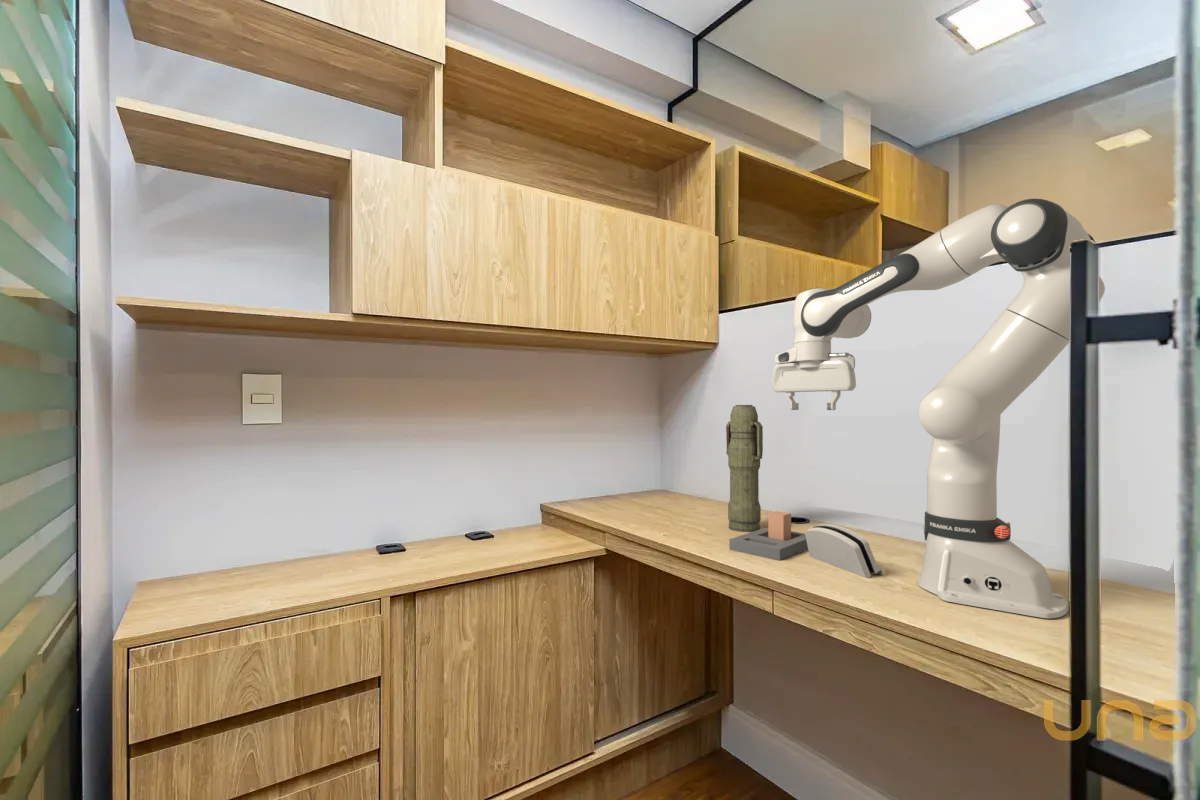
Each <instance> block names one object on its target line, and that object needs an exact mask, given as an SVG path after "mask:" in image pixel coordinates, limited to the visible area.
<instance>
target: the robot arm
mask: <svg viewBox="0 0 1200 800" xmlns="http://www.w3.org/2000/svg"><path fill="white" fill-rule="evenodd" d="M1080 239H1090V240H1093V241H1094V242H1095V243H1096V240H1095V239H1094V238H1093V237H1092V235H1091V234H1089V233H1088V231H1086V229H1085V228H1084V227H1083V224H1082V222H1081V221H1080V220H1078V219H1077V218H1076V217H1075V216H1074V215H1072V214H1070V213H1069V212H1067V211H1066V210H1065V209H1064V208H1063V207H1062V206H1061V205H1060V204H1058V203H1055V202H1054V201H1050V200H1048V199H1042V198H1027V199H1024V200H1020V201H1018V202H1015V203H1012V204H1011V205H1010V206H1007V205H1004V204H1000V203H995V204H990V205H986V206H984V207H982V208H980V209H977V210H975V211H973V212H971V213H969V214H966V215H965V216H963V217H960V218H959V219H957V220H956V221H953V222H952V223H950V224H948V225H946V226H945V227H943V228H941V229H939V230H938V231H936V232H935V233H933V234H932V235H929V236H928V237H927V238H926V239H924V240H922V241H921V242H919V243H917V244H915V245H914V246H912V247H911V248H909V249H906V250H904V251H903V252H901V253H899V254H897V255H896V256H893V257H892V258H890V259H887V260H885V261H884V262H883V261H882V263H880V264H878V265H876V266H874V267H872V268H870V269H869V270H866V271H865V272H863V273H861V274H860V275H857V276H855V277H854V278H852V279H851V280H848V281H847V282H845V283H843V284H841V285H839V286H837V287H835V288H833V289H829V290H828V289H826V288H824V287H814V288H809V289H805V290H803V291H801V292H799V294H798V295H797V296H796V297H795V301H794V303H793V310H792V311H793V312H792V327H793V330H794V339H793V342H792V343H793V344H792V346H793V347H792V348H790V349H787V350H785V351H783V352H780V353H778V354H776V355H775V356H774V363H776V365H774V366H773V370H772V376H771V377H772V378H771V388H772V390H773V391H774V393H785V397H786V399H787V401H788V403H789V409H790V411H799V410H800V409H799V406H800V405H799V402H796V400H795V399H794V397H795V395H796V393H802V392H803V393H806V392H807V393H808V392H809V393H810V392H812V393H813V392H831V393H830V394H831V396H833V397H832V398H831V400H830V402H827V403H826V406H827V407H826V410H827V411H836V409H837V402H838V401H839V399H840V398H841V392H847V391H848V392H849V391H850V392H851V391H852V392H853V391H854V390H855V388H857V380H856V373H855V368H856V359H855V357H854V355H853V354H852V353H849V352H847V351H845V352H840V353H839V352H833V353H832V338H837V339H839V338H840V339H855V338H858V337H860V336H862V335H864V334H865V333H866V331H867V330H868V329H869V327H870V325H871V322H872V312H871V307H869V304H871V303H873V302H875V301H877V300H879V299H881V298H883V297H885V296H889V295H891V294H895V293H899V292H908V291H937V290H941V289H943V288H946V287H949V286H951V285H956V284H957V283H959V282H961V281H964V280H965V279H967V278H969V277H970V276H973V275H975V274H976V273H979V271H981V270H983V269H985V268H986V267H989V266H991V265H993V264H996V263H1000V262H1001V263H1002V262H1006V263H1007V264H1008V265H1009V266H1010V267H1011V268H1012V269H1014V270H1015V271H1016V272H1019V273H1020V274H1021V275H1023V276H1022V277H1023V284H1022V287H1021V288H1020V290H1019V292H1018V293H1017V295H1016V296H1015V297H1014V298H1013V300H1011V302H1010V303H1009V304H1008V305H1007V306H1006V308H1005V309H1004V310H1003V311H1002V312H1001V313H1000V314H999V316H998V317H997V318H996V320H995V321H994V322H993V323H992V324H991V326H990V327H989V328H988V329H987V331H986V332H985V333H984V334H983V335H982V336H981V338H979V340H978V341H977V342H976V344H974V346H973V347H972V348H971V349H970V350H969V351H968V352H967V353H966V354H964V356H963V357H962V358H961V359H960V360H958V362H956V364H955V365H953V367H952V368H950V369H949V371H948V372H947V373H945V374H944V376H943V377H942V378H941V379H940V380H939V381H938V382H937V383H936V385H935V386H934V387H933V388H932V389H931V390H929V392H928V393H927V394H925V396H924V397H923V398H922V400H921V403H920V405H919V410H918V417H919V421H920V424H921V426H922V428H923V429H924V430H925V432H927V434H929V435H930V436H932V441H931V447H930V448H931V449H930V456H929V462H928V466H927V469H926V505H927V506H926V511H925V512H924V517H923V534H924V540H925V550H924V556H923V562H922V566H921V567H922V568H921V570H920V573H919V577H918V580H917V584H918V586H920V587H921V588H922V589H924V590H926V591H927V592H931V593H932V594H934V595H936V596H937V597H938V598H939V599H941V600H943V601H946V602H948V603H949V602H950V603H953V604H961V605H965V606H971V607H976V608H977V607H978V608H982V609H983V608H984V609H988V610H995V611H999V612H1000V611H1001V612H1007V613H1011V614H1012V613H1013V614H1017V615H1018V614H1019V615H1024V616H1030V617H1033V618H1034V617H1035V618H1041V619H1056V618H1061V617H1064V615H1065V616H1066V614H1067V613H1068V611H1069V602H1068V601H1067V598H1066V597H1064V596H1062V594H1060V593H1057V592H1053V588H1052V584H1051V579H1050V576H1049V574H1048V571H1047V570H1046V567H1045V566H1044V565H1043V564H1042V563H1041V562H1039V561H1038V560H1036V558H1034V557H1032V556H1031V555H1029V553H1027V552H1026V551H1025V550H1023V549H1021V548H1020V547H1019V546H1018V545H1016V544H1015V543H1013V542H1012V541H1011V538H1012V537H1011V536H1012V535H1011V529H1012V528H1011V522H1005V520H1002V519H1000V517H998V516H997V513H998V512H997V510H998V509H997V506H998V505H997V503H998V497H997V496H998V495H997V492H998V491H997V490H998V489H997V486H998V485H997V484H998V483H997V478H998V477H997V476H998V465H999V454H1000V453H999V451H1000V437H1001V436H1000V435H1001V434H1000V433H1001V414H1003V412H1005V410H1007V408H1008V407H1009V406H1011V404H1012V403H1014V401H1015V400H1017V398H1019V396H1020V395H1022V393H1023V392H1024V391H1025V390H1026V389H1028V387H1030V386H1031V385H1032V384H1033V383H1034V382H1035V381H1036V380H1037V379H1038V378H1039V377H1040V376H1041V375H1042V373H1043V372H1044V371H1045V370H1047V367H1049V366H1050V364H1051V363H1052V362H1054V360H1055V359H1056V358H1057V357H1058V356H1059V355H1060V353H1061V352H1062V351H1063V350H1064V349H1065V348H1066V347H1067V346H1068V345H1069V343H1070V342H1071V341H1070V248H1069V244H1070V242H1072V241H1074V240H1080ZM1105 289H1106V287H1105V283H1104V281H1103V279H1102V277H1101V276H1099V303H1100V302H1101V300H1102V298H1103V297H1104V294H1105V291H1106V290H1105Z"/></svg>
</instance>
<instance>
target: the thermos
mask: <svg viewBox="0 0 1200 800" xmlns="http://www.w3.org/2000/svg"><path fill="white" fill-rule="evenodd" d="M729 418H730V421H728V422H727V423H726V426H725V432H726V433H725V434H726V435H725V436H726V452H725V453H726V455H727V456H728V457H727V462H728V463H727V465H728V468H729V501H728V504H727V518H728V529H729V530H731V531H736V532H741V533H743V532H744V533H751V532H754V531H757V530H760V529H761V524H760V523H761V520H762V519H761V515H762V513H761V510H762V509H761V504H760V501H759V495H760V494H759V493H760V492H759V485H760V484H759V481H760V480H759V479H760V478H759V475H760V474H759V470H760V468H761V460H762V459H763V452H764V451H763V449H764V445H763V444H764V443H763V440H764V439H763V438H764V437H763V435H764V434H763V429H764V427H763V424H762V423H761V421H759V414H758V411H757V407H756V406H753V404H735V406H732V409H731V412H730V417H729Z"/></svg>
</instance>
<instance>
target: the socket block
mask: <svg viewBox="0 0 1200 800" xmlns="http://www.w3.org/2000/svg"><path fill="white" fill-rule="evenodd" d="M729 550H730V551H734V552H740V553H744V554H748V555H753V556H757V557H761V556H762V558H766V557H767V558H768V559H771V558H772V559H771V560H775V559H776V560H775V561H782V560H784V559H786V558H789V557H791V555H792V556H794V555H796V554H799V553H802V552H804V551H805V550H808V546H807V541H806V536H805V533H804V532H803V533H802V532H798V531H792V530H791V540H788V541H786V540H780V539H775V538H770V537H768V527H764V528H760V530H757V531H754V532H746V533H745V534H742V535H738V536H734V537H732V538H729ZM781 559H782V560H781Z"/></svg>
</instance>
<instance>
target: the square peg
mask: <svg viewBox="0 0 1200 800" xmlns="http://www.w3.org/2000/svg"><path fill="white" fill-rule="evenodd" d="M767 518H768V519H767V520H768V525H767V526H768V537H770V538H775V539H780V540H786V541H788V540H791V531H792V513H791V512H785V511H778V510H776V511H771V512H768V515H767Z"/></svg>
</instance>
